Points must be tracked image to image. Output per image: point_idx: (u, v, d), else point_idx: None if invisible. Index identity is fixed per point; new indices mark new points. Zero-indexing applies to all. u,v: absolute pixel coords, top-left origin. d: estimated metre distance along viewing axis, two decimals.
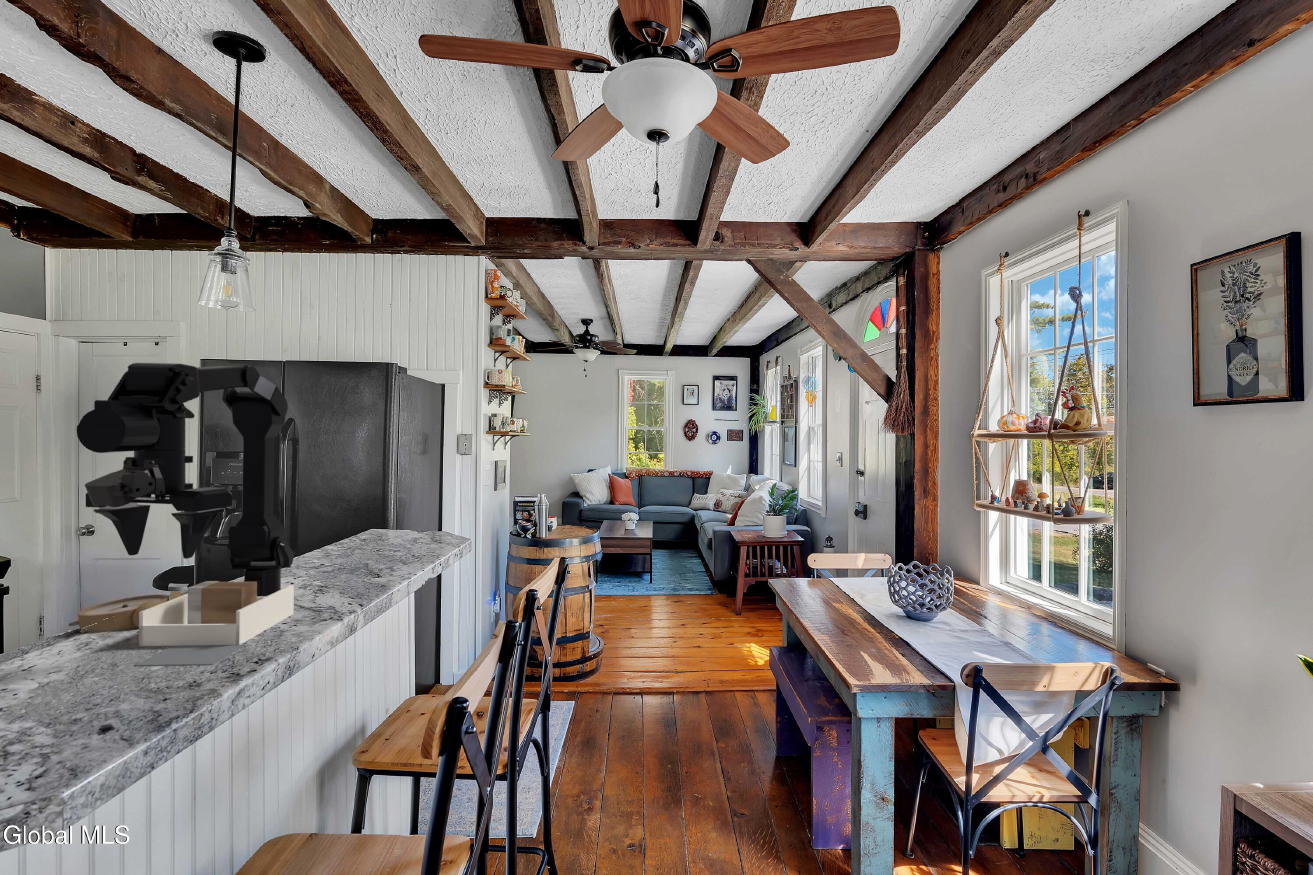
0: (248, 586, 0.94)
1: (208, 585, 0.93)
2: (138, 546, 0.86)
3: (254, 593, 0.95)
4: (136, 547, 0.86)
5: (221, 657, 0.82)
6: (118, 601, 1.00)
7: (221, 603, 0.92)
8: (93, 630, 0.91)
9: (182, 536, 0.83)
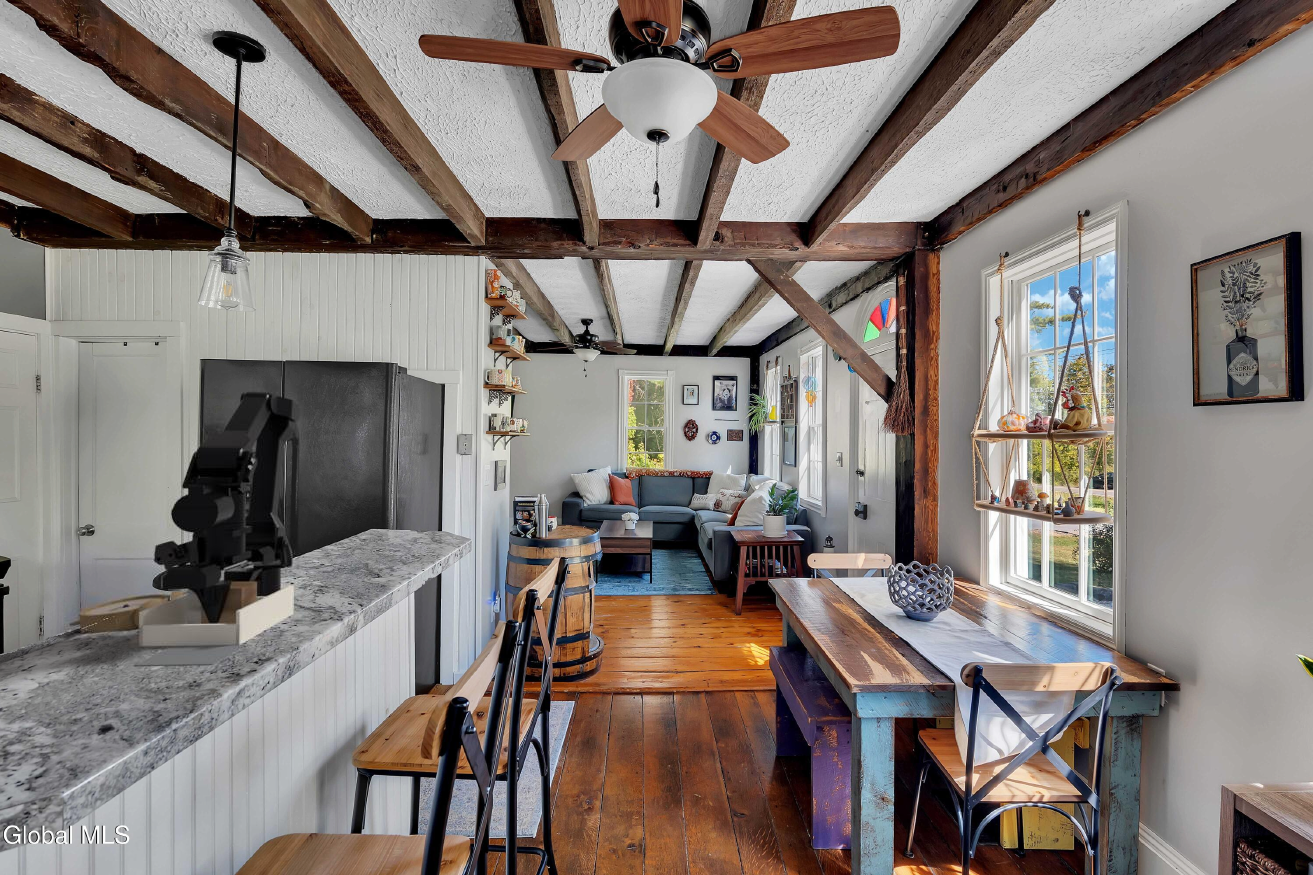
0: (248, 586, 0.94)
1: None
2: None
3: (254, 593, 0.95)
4: None
5: (221, 657, 0.82)
6: (119, 601, 1.00)
7: None
8: (94, 630, 0.91)
9: None
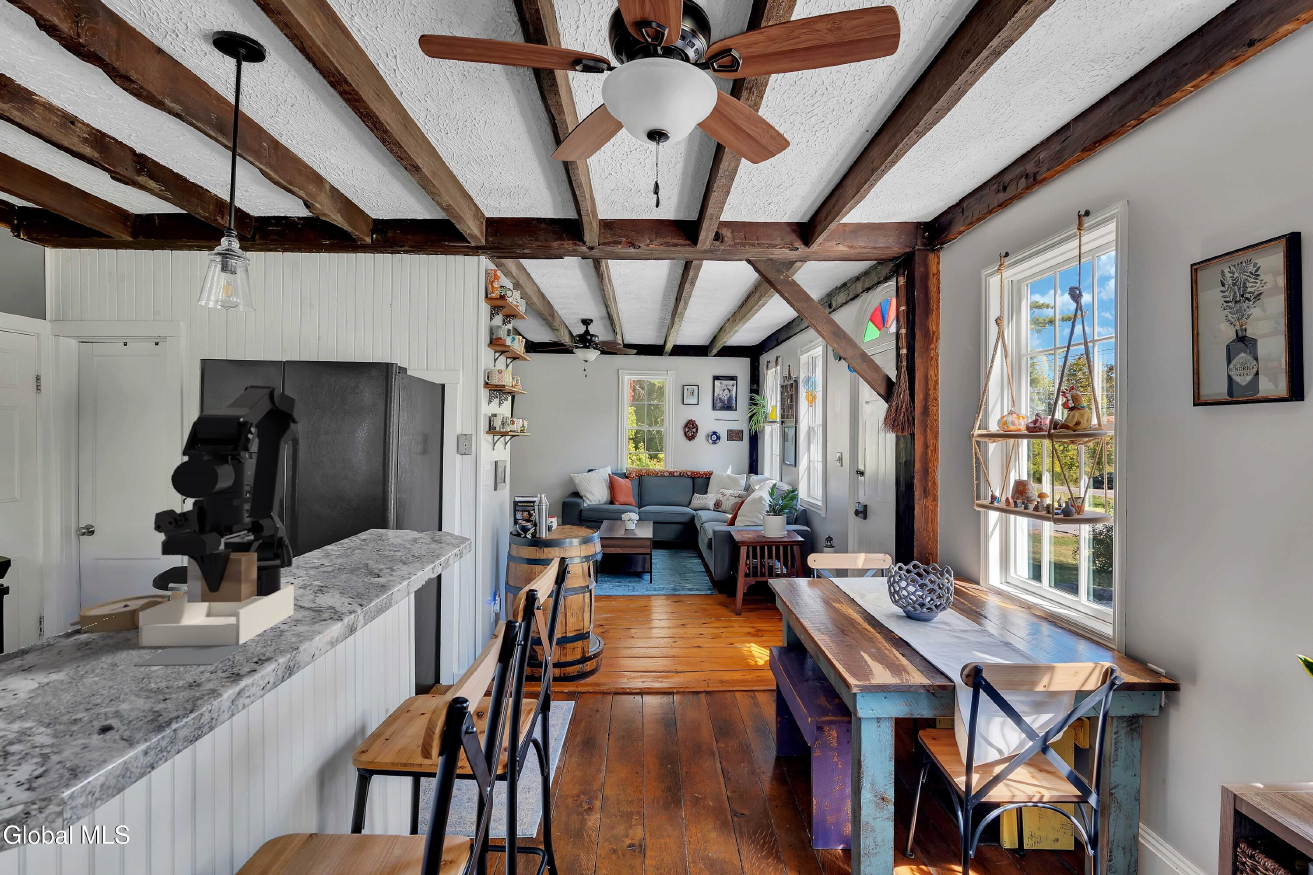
0: (248, 556, 0.94)
1: None
2: None
3: (254, 563, 0.95)
4: None
5: (221, 657, 0.82)
6: (119, 601, 1.00)
7: None
8: (94, 630, 0.91)
9: None
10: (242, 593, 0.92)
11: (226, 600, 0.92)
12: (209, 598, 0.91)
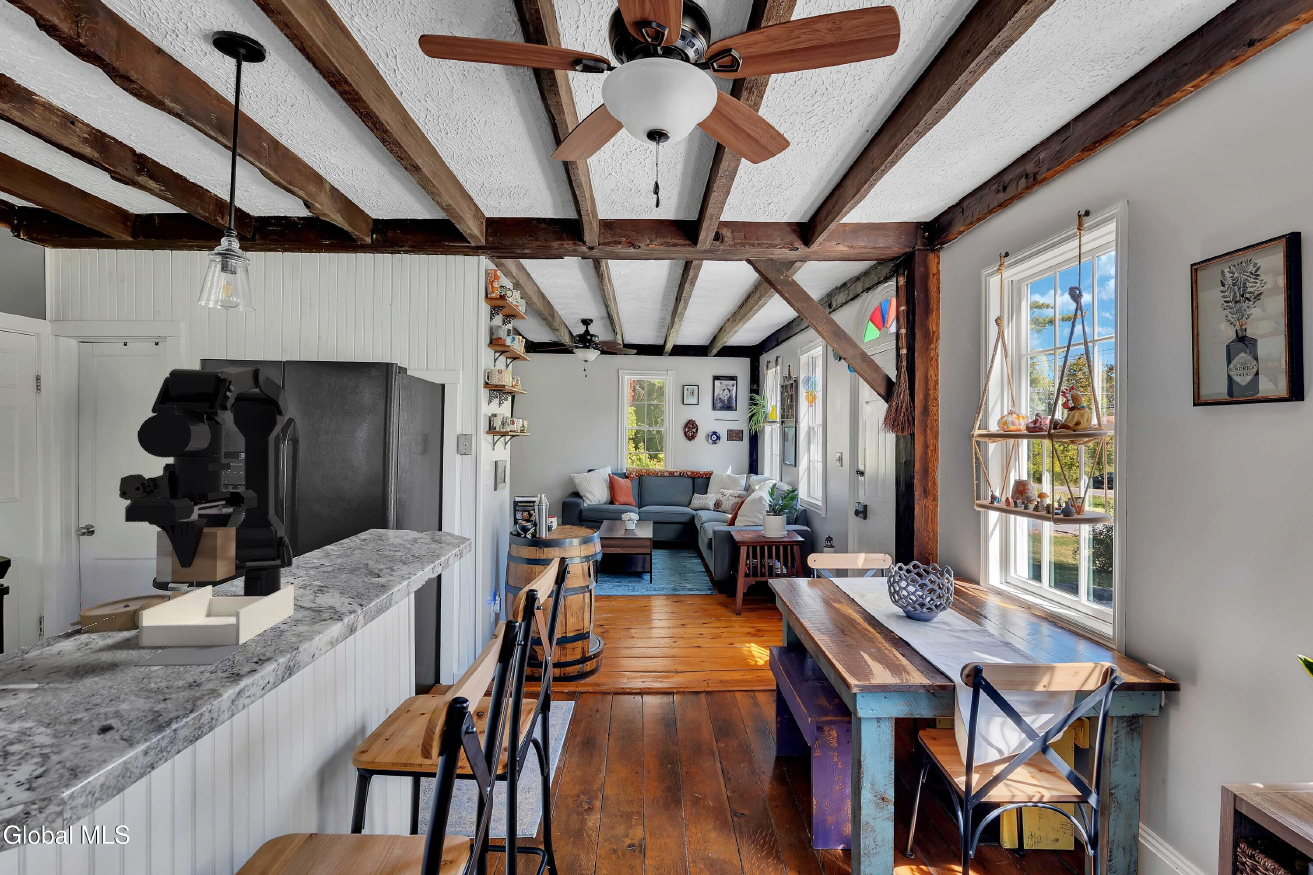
0: (225, 530, 0.84)
1: None
2: None
3: (231, 539, 0.85)
4: None
5: (221, 657, 0.82)
6: (119, 601, 1.00)
7: None
8: (95, 630, 0.91)
9: None
10: (218, 571, 0.82)
11: (200, 579, 0.82)
12: (181, 577, 0.82)
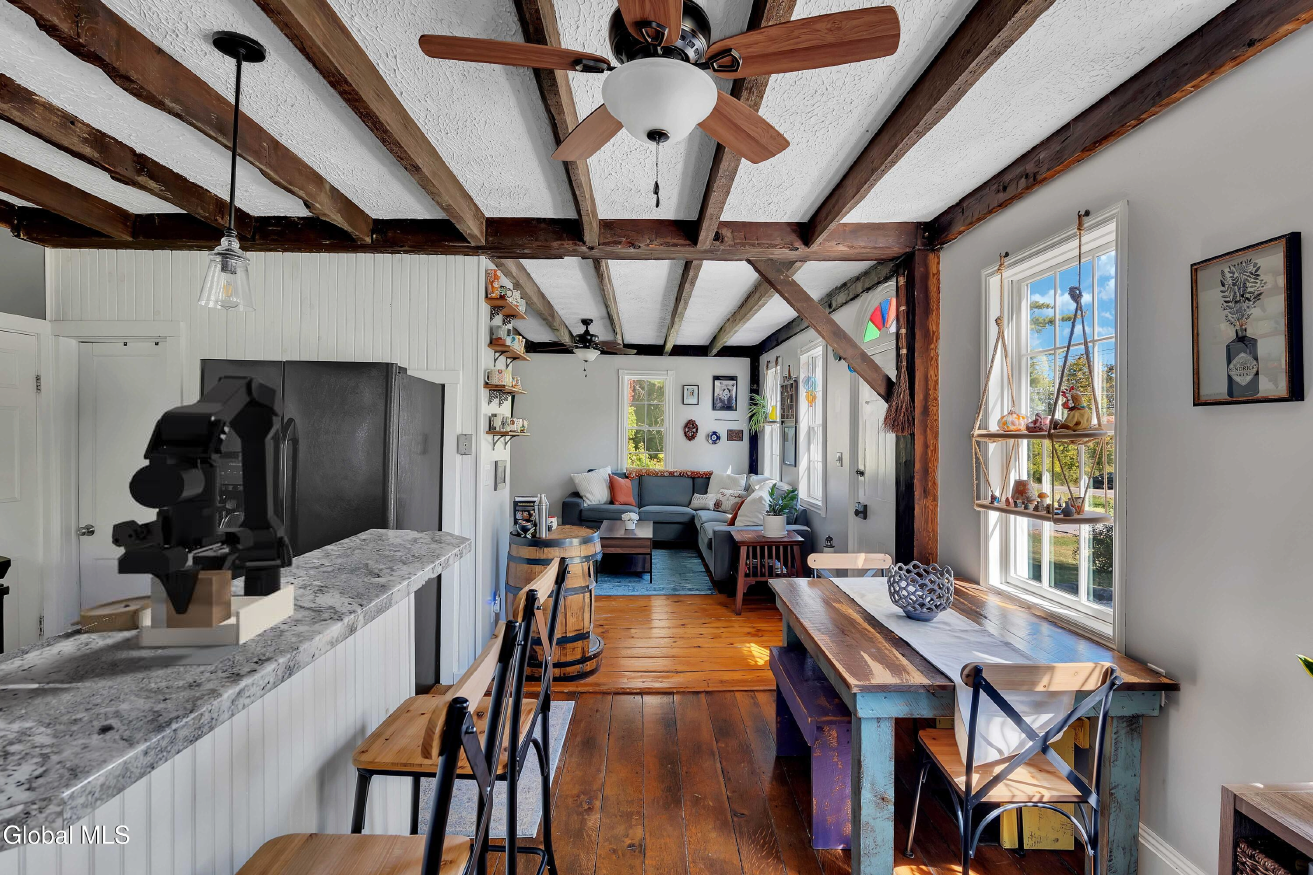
0: (220, 575, 0.82)
1: None
2: None
3: (227, 583, 0.84)
4: None
5: (221, 657, 0.82)
6: (120, 601, 1.00)
7: None
8: (95, 630, 0.91)
9: None
10: (214, 618, 0.81)
11: (195, 625, 0.81)
12: (176, 623, 0.80)
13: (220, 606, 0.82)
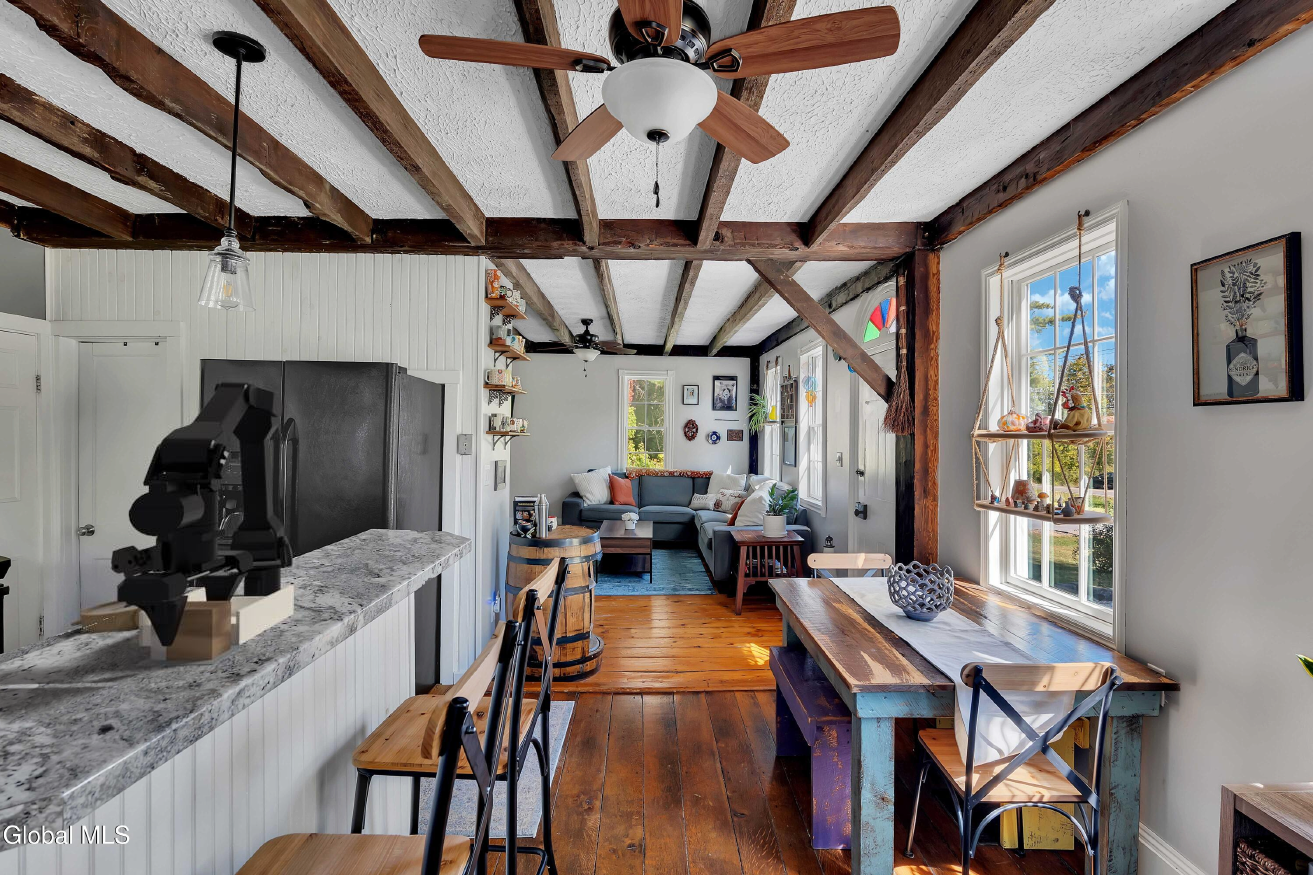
0: (221, 606, 0.82)
1: None
2: None
3: (227, 614, 0.84)
4: None
5: (221, 657, 0.82)
6: None
7: (189, 627, 0.81)
8: (95, 630, 0.91)
9: None
10: (213, 649, 0.81)
11: (195, 657, 0.81)
12: (175, 655, 0.80)
13: (220, 637, 0.82)
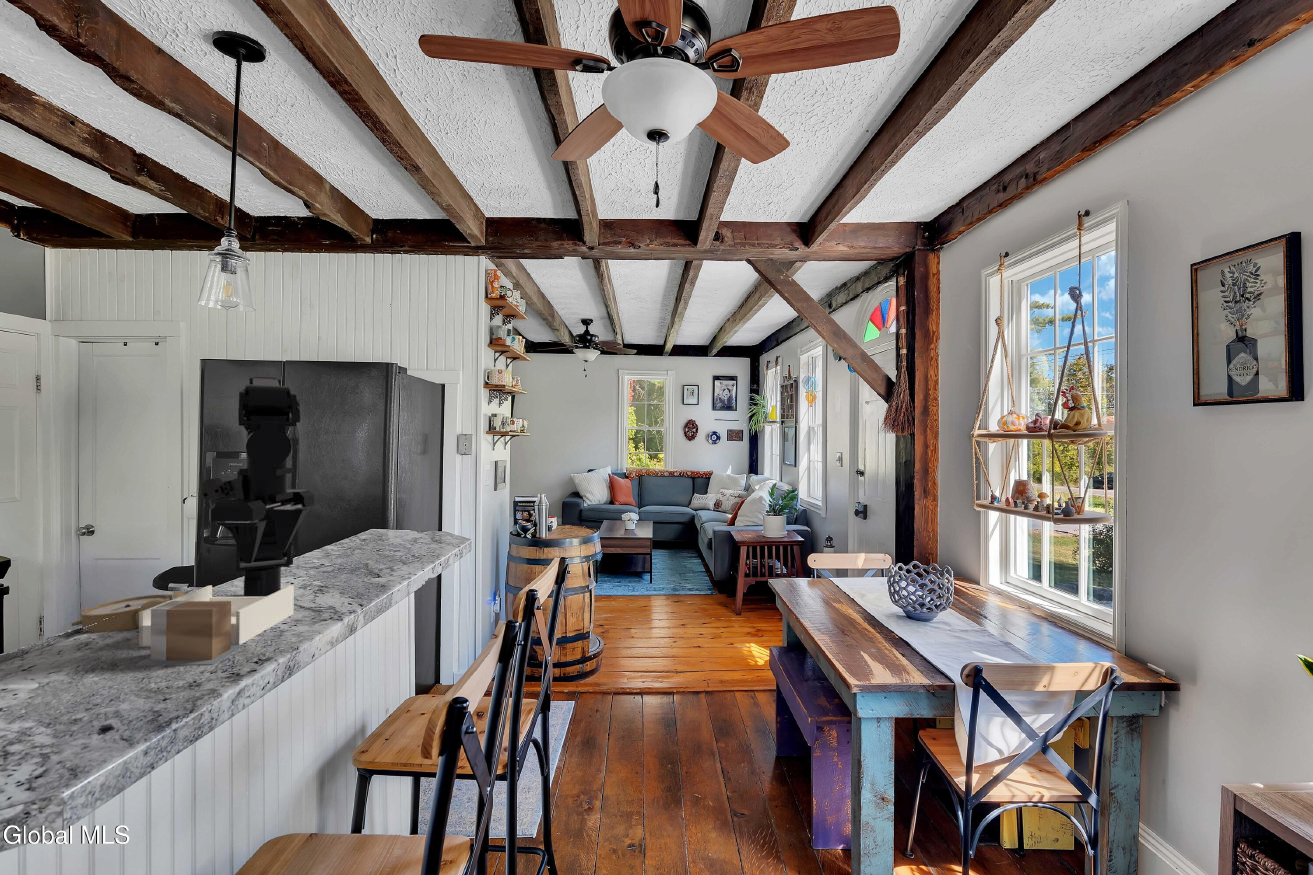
0: (221, 606, 0.82)
1: (175, 606, 0.82)
2: (285, 544, 1.00)
3: (227, 614, 0.84)
4: (283, 544, 1.00)
5: (221, 657, 0.82)
6: (121, 601, 1.00)
7: (189, 627, 0.81)
8: (96, 630, 0.91)
9: None
10: (213, 649, 0.81)
11: (195, 657, 0.81)
12: (175, 655, 0.80)
13: (220, 637, 0.82)
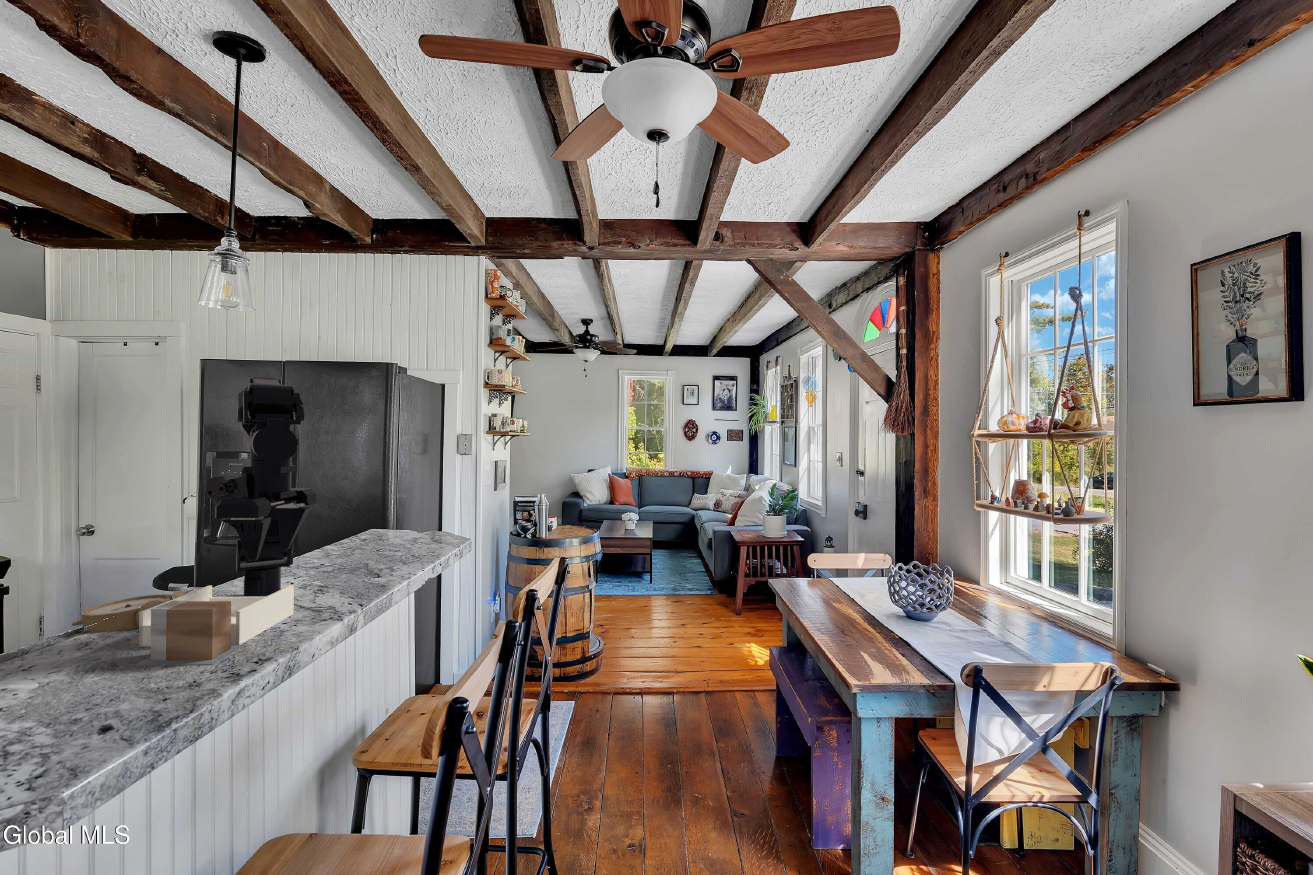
0: (221, 606, 0.82)
1: (175, 606, 0.82)
2: (288, 542, 1.00)
3: (227, 614, 0.84)
4: (286, 542, 1.00)
5: (221, 657, 0.82)
6: (121, 601, 1.00)
7: (189, 627, 0.81)
8: (96, 630, 0.91)
9: None
10: (213, 649, 0.81)
11: (195, 657, 0.81)
12: (175, 655, 0.80)
13: (220, 637, 0.82)
